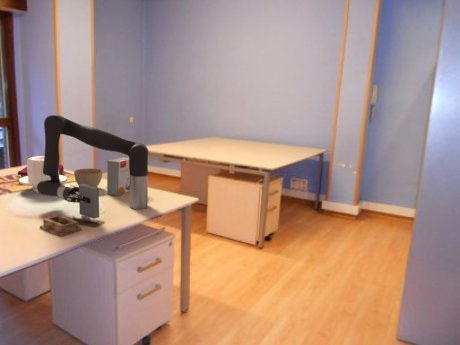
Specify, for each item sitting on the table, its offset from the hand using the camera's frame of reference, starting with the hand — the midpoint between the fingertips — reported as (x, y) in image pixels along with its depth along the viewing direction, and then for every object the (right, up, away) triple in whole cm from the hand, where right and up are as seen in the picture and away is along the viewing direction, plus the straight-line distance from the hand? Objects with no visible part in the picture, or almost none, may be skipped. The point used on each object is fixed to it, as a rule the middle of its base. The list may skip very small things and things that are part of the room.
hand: (93, 199), depth 175 cm
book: (-61, +8, +78) cm, 100 cm away
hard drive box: (-3, 0, +55) cm, 55 cm away
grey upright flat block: (-3, -7, +3) cm, 9 cm away
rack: (-11, -12, -8) cm, 18 cm away
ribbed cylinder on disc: (-46, +2, +50) cm, 68 cm away
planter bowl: (-24, +3, +59) cm, 64 cm away
